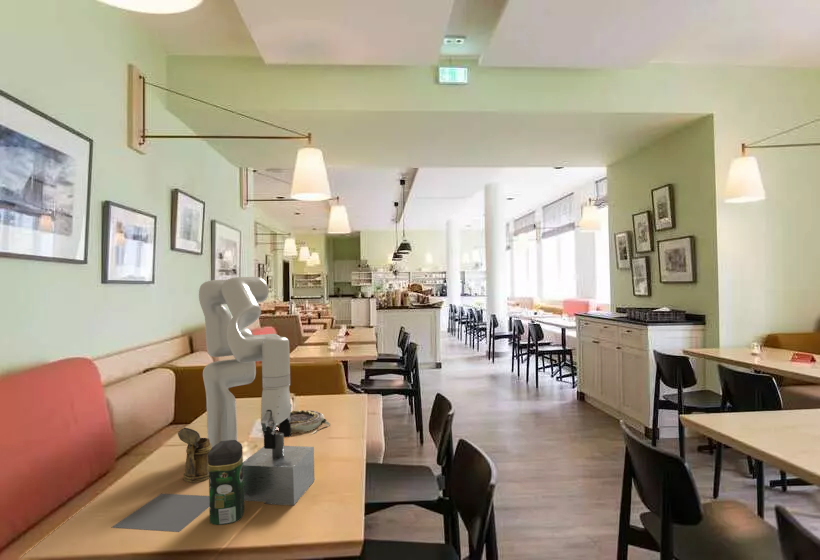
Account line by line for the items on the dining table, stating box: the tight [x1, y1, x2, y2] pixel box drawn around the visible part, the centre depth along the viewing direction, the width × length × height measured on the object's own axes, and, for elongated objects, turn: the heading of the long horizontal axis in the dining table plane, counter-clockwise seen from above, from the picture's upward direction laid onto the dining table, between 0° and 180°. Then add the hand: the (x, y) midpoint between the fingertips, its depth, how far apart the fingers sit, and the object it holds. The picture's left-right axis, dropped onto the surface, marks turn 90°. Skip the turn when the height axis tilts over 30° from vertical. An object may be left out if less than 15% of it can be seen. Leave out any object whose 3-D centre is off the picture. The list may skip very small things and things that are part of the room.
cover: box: [243, 431, 315, 506], centre depth 133 cm, size 15×15×16 cm
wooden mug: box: [177, 427, 211, 484], centre depth 141 cm, size 9×14×18 cm, turn 1°
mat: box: [110, 492, 210, 533], centre depth 122 cm, size 18×18×1 cm
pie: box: [276, 409, 331, 435], centre depth 193 cm, size 28×27×5 cm
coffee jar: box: [208, 440, 245, 526], centre depth 119 cm, size 10×8×19 cm
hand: (277, 442), depth 133 cm, fingers open, 9 cm apart
